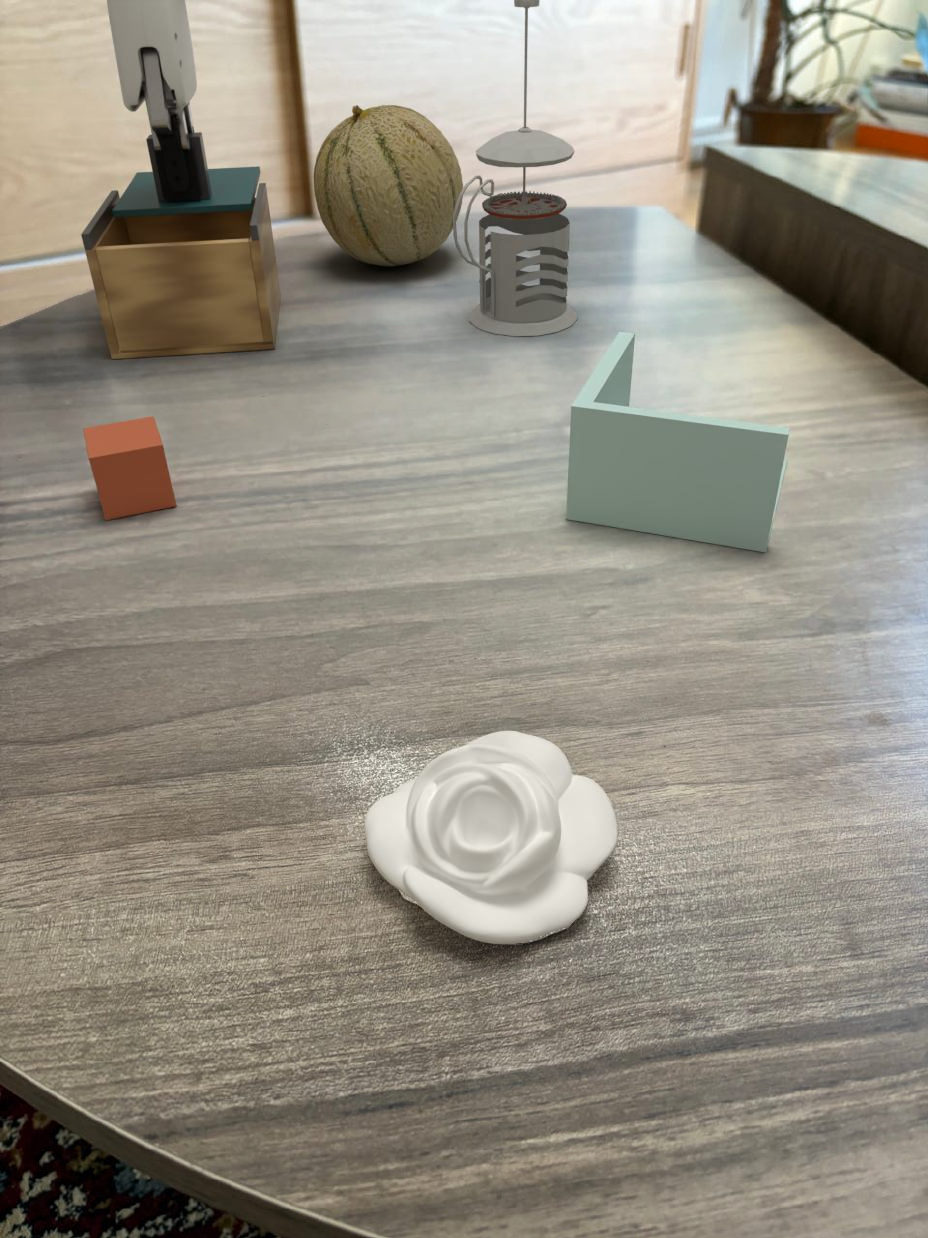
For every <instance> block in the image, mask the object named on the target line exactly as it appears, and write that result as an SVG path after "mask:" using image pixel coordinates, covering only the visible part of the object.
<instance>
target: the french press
mask: <svg viewBox="0 0 928 1238" xmlns="http://www.w3.org/2000/svg"><path fill="white" fill-rule="evenodd" d="M540 1H541V0H513V4H514V7H515V8H523V9H524V64H523V65H524V68H523V69H524V71H523V72H524V73H523V77H524V78H523V126H522V127H520V128H519V129H516V130H509V131H505V132H503V133H500V134H498V135H496V136H494V137H492V138H490V139H489V140H488V141H487V142H485V143H483V144H482V145H481V146H479V148H477V149H476V150H475V155H476V158H477V160H478V161H479V162H481V163H483V164H485V165H488V166H493V167H498V168H522V191H521V192H520V191H518V192H517V191H510V192H507V193H506V192H504V193H502V192H500V193H497V194H495V195H494V192H495V182H494V180H493V179H492V178H487V179H486V180H484V181H483V178H482V176H481V175H474V177H472V178H471V179H470V180H469V181H468V182H467V183H465V185H463V189H462V191H461V193H460V194H459V197H458V200H457V203H456V206H455V210H454V214H453V230H452V232H453V233H452V235H453V240H454V245H455V248H456V249H457V251H458V254H459V256H460V257H461V258H462V260H464V261H465V263H467V264H468V265H471V266H474V267H476V268H478V269H479V303H478V304H477V305H476V306H474V308H473V309H472V310H471V311H470V312H469V314H468V317H469V318H468V319H469V322H470V323H471V324H472V325H473V326H475V327H476V328H477V329H479V330H482V331H485V332H488V333H491V334H495V335H501V336H510V337H539V336H542V335H549V334H555V333H558V332H561V331H563V330H566V329H567V328H569V327H572V326H573V325H574V324H575V322H576V321H577V320H578V315H577V311H576V310H575V309H574V308H573V306H572V305H570V303H569V302H568V300H567V296H568V284H567V283H568V282H569V272H568V267H569V254H568V252H569V251H570V233H571V232H570V229H571V228H570V227H571V223H570V220H569V218H568V217H567V216H566V215H564V214H561V213H563V212H564V210H566V209H567V206H568V204H567V201H566V200H565V198H563V197H561V196H559V195H556V194H553V193H548V192H543V193H542V192H540V193H539V192H538V191H536V192H535V191H531V190H529V192H528V191H526V176H527V175H526V173H527V172H526V171H527V169H526V168H539V167H548V166H554V165H557V164H561V163H565V162H567V161H569V160H570V159H572V157H573V155H574V154H575V149H574V147H573V146H572V145H571V144H569V143H568V142H567V141H565V140H564V139H562V138H560V137H559V136H556V135H553V134H552V133H549V132H546V131H543V130H539V129H531V128H530V127H529V126H527V107H528V105H527V100H528V99H527V98H528V93H527V92H528V89H527V88H528V38H529V37H528V31H529V29H528V28H529V27H528V25H529V9H530V8H536V7H539V6H540ZM475 180H479V186H478V187H477V188H476V190H475V191H474V193H473V195H472V197H471V199H470V201H469V203H468V205H467V207H466V214H465V218H464V223H463V226H464V227H463V229H464V232H463V233H464V235H463V237H464V245H465V248H466V251H467V253H468V256H469V259H470V260H469V259H468V258H467V257H466V256H465V255H464V254H463V251H462V250H461V246H460V243H459V241H458V231H457V221H456V216H457V211H458V207H459V204H460V201H461V198H462V196H463V197H464V194H465V192H466V191H467V189H468V188H469V186H470V185H471V184H472V183H473V182H474V181H475ZM487 184H490V192H488V191H485V190H484V187H485V186H486V185H487ZM479 192H481V194H482V195H484V196H487V197H488V198H486V199H484V200H483V201H482V203H481V207H482V209H483V211H484V212H485V213H487V215H485V216H483V217H481V218H480V219H479V220H478V246H479V247H478V250H479V251H478V252H479V255H478V256H479V259H478V260H479V262H478V260H476V259H475V258H474V255H473V253H472V250H471V247H470V243H469V240H468V239H469V238H468V237H469V235H468V231H469V230H468V228H469V227H468V226H469V225H468V221H469V218H470V212H471V209H472V205H473V203H474V201H475V200H476V198H477V196H478V194H479ZM462 199H463V198H462ZM489 227H498V228H501V229H504V230H506V231H509V232H511V233H513V234H511V233H502V232H501V233H500V232H495V231H492V230H491V231H490V233H489V234H487V235H486V230H487V229H488V228H489ZM489 243H490V248H488V249H487V250H486V245H488V244H489ZM534 251H539V254H537V255H534V256H530V257H526V256H522V255H520V254H521V253H523V252H534ZM489 258H490V263H488V264H486V260H488V259H489ZM530 266H539V270H534V271H525V270H522V269H524V268H526V267H530ZM488 273H490V277H488V278H487V277H486V276H487V274H488ZM535 280H539V284H533V285H526V283H528V282H532V281H535Z"/></svg>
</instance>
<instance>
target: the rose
mask: <svg viewBox="0 0 928 1238" xmlns="http://www.w3.org/2000/svg"><path fill="white" fill-rule="evenodd" d="M363 824H364V825H363V826H364V828H363V829H364V836H365V842H366V851H367V854H368V857H369V859H370V861H371V863H372V865H373V866H374V867H375V869H376V870H377V871H378V873H379V874H380V875H381V877H383V879H385V881H387V883H388V884H390V885H391V886H392V887H394V888H396V890H397V889H398V890H400V891H401V892H402V893H403V894H404V895H406V896H408V897H410V898H411V899H413V900H415V901H416V902H417V903H418V904H419V905H420V906H419V907H420V908H422V910H423V911H424V912H425V913H427V914H428V915H429V916H431V917H432V918H433V919H435V920H436V921H438V922H439V923H441V924H442V925H444V926H446V927H447V928H449V929H451V930H452V931H455V932H456V933H458V934H460V935H462V936H464V937H467V938H468V939H471V940H473V941H478V942H482V943H486V944H493V945H517V944H516V943H521V942H527V941H530V940H532V939H536V938H538V937H539V936H541V935H545V934H547V933H549V932H551V931H557V930H559V929H561V928H566V927H568V926H570V925H571V924H572V923H573V924H574V922H575V921H576V920H578V918H580V917H581V916H582V915H583V913H584V911H585V910H586V908H587V905H588V902H589V901H588V900H589V894H588V892H589V889H588V880H589V879H590V878H591V877H592V876H593V875H594V874H595V872H596V871H597V870H598V869H599V868H600V867H601V866H602V865H603V864H604V862H606V861H607V860H608V858H609V857H610V855H612V853H613V852H614V850H615V848H616V845H617V842H618V822H617V818H616V813H615V810H614V807H613V805H612V802H611V800H610V798H609V796H608V795H607V793H606V792H605V790H604V788H602V786H601V785H600V784H598V783H597V782H596V781H595V780H593V779H592V778H590V777H587V776H584V775H580V774H573V769H572V767H571V765H570V762H569V759H568V758H567V756H566V755H565V753H564V752H563V751H562V750H561V749H560V747H559V746H557V745H556V744H555V743H553V742H552V741H549V740H547V739H545V738H543V737H540V736H535V735H532V734H526V733H523V732H520V731H516V730H500V731H495V732H491V733H488V734H485V735H483V736H480V737H477V738H475V739H473V740H471V741H469V742H468V743H466V744H464V745H463V746H457V747H454V748H452V749H449V750H447V751H445V752H443V753H441V754H440V755H437V757H435V758H434V759H432V760H430V761H429V762H428V763H427V764H426V766H424V768H422V770H421V771H420V773H419V774H418V775H417V776H416V777H415V778H412V779H411V780H408V781H406V782H404V783H401V784H400V785H398V786H397V787H396V788H395V789H394V790H393V792H392V793H389V794H385V795H384V796H383V797H381V798H380V799H378V800H376V801H375V802H374V803H373V804H372V805H371V806H369V808H368V810H367V812H366V814H365V817H364V822H363ZM398 890H397V891H398ZM573 924H572V925H573ZM572 925H571V926H572Z"/></svg>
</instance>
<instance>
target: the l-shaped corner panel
mask: <svg viewBox="0 0 928 1238" xmlns="http://www.w3.org/2000/svg"><path fill="white" fill-rule="evenodd" d="M635 339H636V332H635V333H634V332H627V331H619V332H618V333H617V335H616V336H615V337H614V339H613V341H612V342H611V344H610V345H609V347H608V348H607V350H606V352H605V353H604V354H603V356H602V358H601V359H600V361H599V362H598V364H597V365H596V367H595V369H594V370H593V372H592V373H591V375H590V376H589V377H588V380H587V381H586V383H585V384H584V385H583V386H582V388H581V390H580V392H579V393H578V394H577V396H576V398H575V399H574V401H573V402H572V404H571V405H570V424H569V444H568V445H569V446H568V447H569V448H568V468H567V469H568V471H567V488H566V489H567V490H566V491H567V493H566V510H565V511H566V512H565V519H566V520H570V521H575V522H582V523H588V524H592V525H598V526H599V525H600V526H606V527H611V528H617V529H623V530H629V531H634V532H640V533H641V532H642V533H647V534H654V535H658V536H659V535H660V536H665V537H672V538H676V539H683V540H690V541H695V542H701V543H706V544H712V545H719V546H724V547H725V546H726V547H731V548H737V549H743V550H748V551H754V552H759V553H767V551H768V550H767V549H768V545H769V540H770V536H771V532H772V528H773V523H774V519H775V514H776V510H777V506H778V501H779V497H780V493H781V488H782V484H783V480H784V476H785V471H786V467H787V464H788V463H787V462H788V459H787V458H785V456H786V450H787V445H788V440H789V435H790V429H791V427H786V426H779V425H771V424H763V423H756V422H748V421H741V420H733V419H725V418H718V417H710V416H702V415H695V414H688V413H687V414H686V413H679V412H671V411H663V410H657V409H648V408H640V407H634V406H630V401H631V387H632V376H633V365H634V354H635V353H634V352H635V341H636V340H635Z"/></svg>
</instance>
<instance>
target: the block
mask: <svg viewBox="0 0 928 1238" xmlns="http://www.w3.org/2000/svg"><path fill="white" fill-rule="evenodd" d="M83 437H84V440H85V447H86V451H87V457H88V461H89V466H90V469H91V471H92V476H93V479H94V483H95V487H96V490H97V493H98V498H99V501H100V504H101V507H102V512H103V515H104V519H105V521H110V520H114V519H120V518H124V517H129V516H134V515H139V514H144V513H149V512H155V511H158V510H163V509H170V508H174V507H177V501H176V497H175V492H174V487H173V483H172V478H171V474H170V471H169V466H168V461H167V458H166V453H165V448H164V443H163V441H162V437H161V435H160V431H159V429H158V424H157V421H156V419H155V417H154V416H153V415H152V416H147V417H142V418H136V419H129V420H123V421H118V422H112V423H106V424H101V425H95V426H89V427H83Z"/></svg>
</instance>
